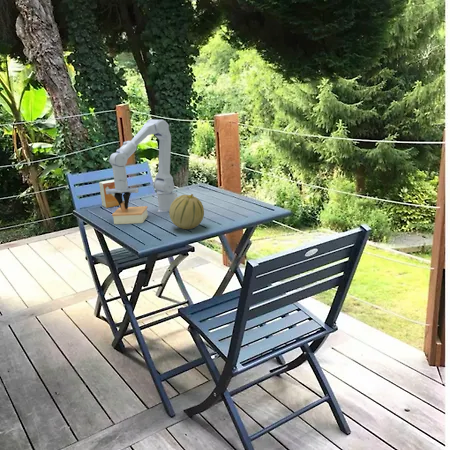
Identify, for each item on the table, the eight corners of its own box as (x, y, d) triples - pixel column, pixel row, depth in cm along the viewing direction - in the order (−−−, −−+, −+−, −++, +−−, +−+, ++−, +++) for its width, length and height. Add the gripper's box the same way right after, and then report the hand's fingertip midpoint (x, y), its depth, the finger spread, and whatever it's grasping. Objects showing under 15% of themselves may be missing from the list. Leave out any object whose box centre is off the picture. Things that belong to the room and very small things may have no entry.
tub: (147, 217, 219) (146, 207, 218) (142, 224, 209) (141, 214, 208) (121, 218, 220) (119, 209, 219) (114, 225, 210) (113, 215, 209)
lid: (147, 209, 218) (146, 197, 217) (142, 216, 207) (140, 204, 206) (119, 210, 220) (118, 199, 218) (112, 217, 209) (110, 205, 207)
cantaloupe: (169, 225, 205) (165, 192, 200) (201, 221, 208) (199, 188, 203) (173, 235, 191) (169, 200, 186) (208, 231, 194) (205, 196, 189)
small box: (106, 208, 240) (102, 183, 236) (102, 206, 245) (98, 181, 241) (121, 205, 244) (117, 181, 240) (116, 203, 249) (113, 179, 245)
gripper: (102, 182, 206) (106, 211, 210) (134, 180, 204) (137, 210, 209) (106, 178, 212) (111, 207, 216) (138, 177, 211) (141, 206, 215)
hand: (124, 208), depth 213 cm, fingers closed on lid
